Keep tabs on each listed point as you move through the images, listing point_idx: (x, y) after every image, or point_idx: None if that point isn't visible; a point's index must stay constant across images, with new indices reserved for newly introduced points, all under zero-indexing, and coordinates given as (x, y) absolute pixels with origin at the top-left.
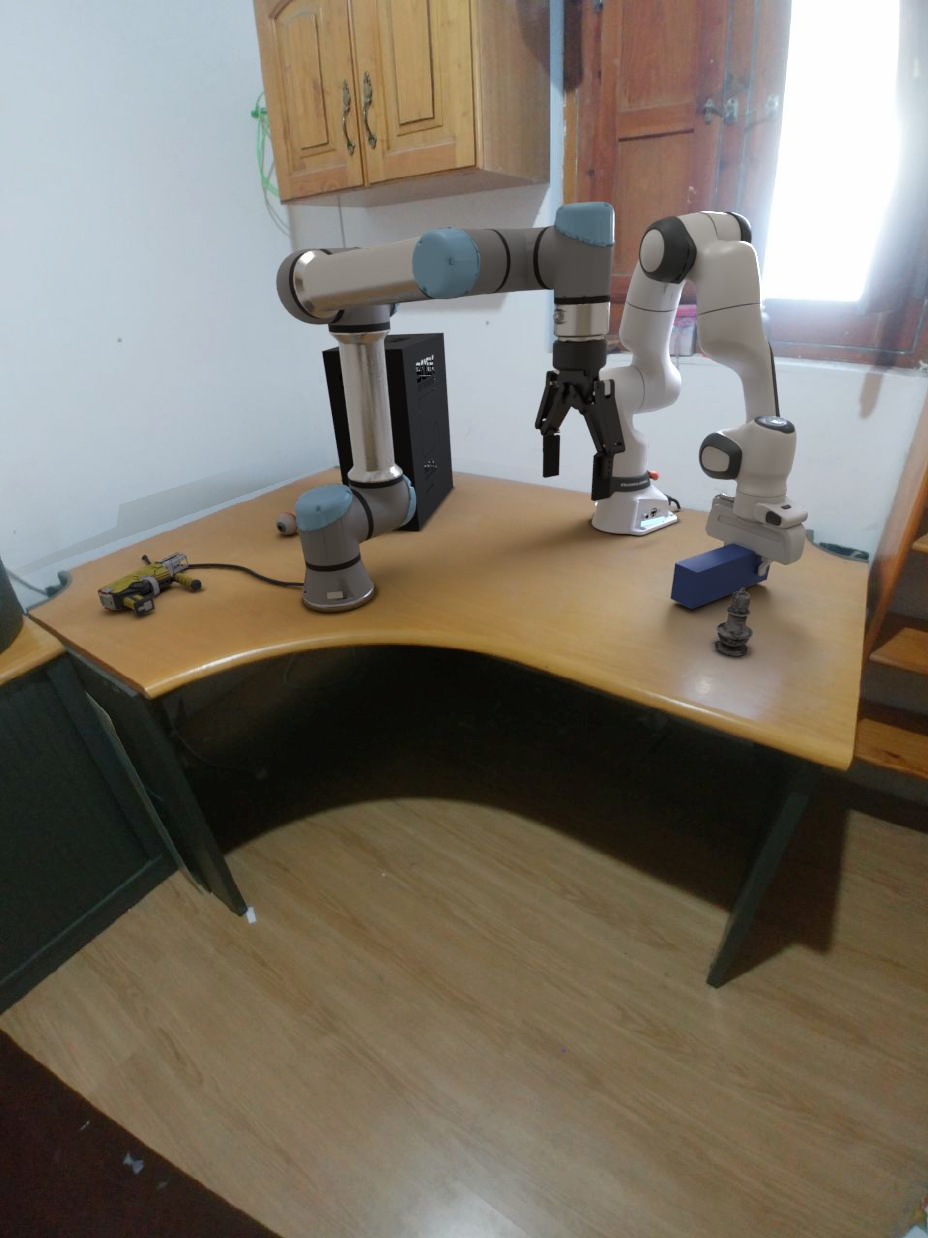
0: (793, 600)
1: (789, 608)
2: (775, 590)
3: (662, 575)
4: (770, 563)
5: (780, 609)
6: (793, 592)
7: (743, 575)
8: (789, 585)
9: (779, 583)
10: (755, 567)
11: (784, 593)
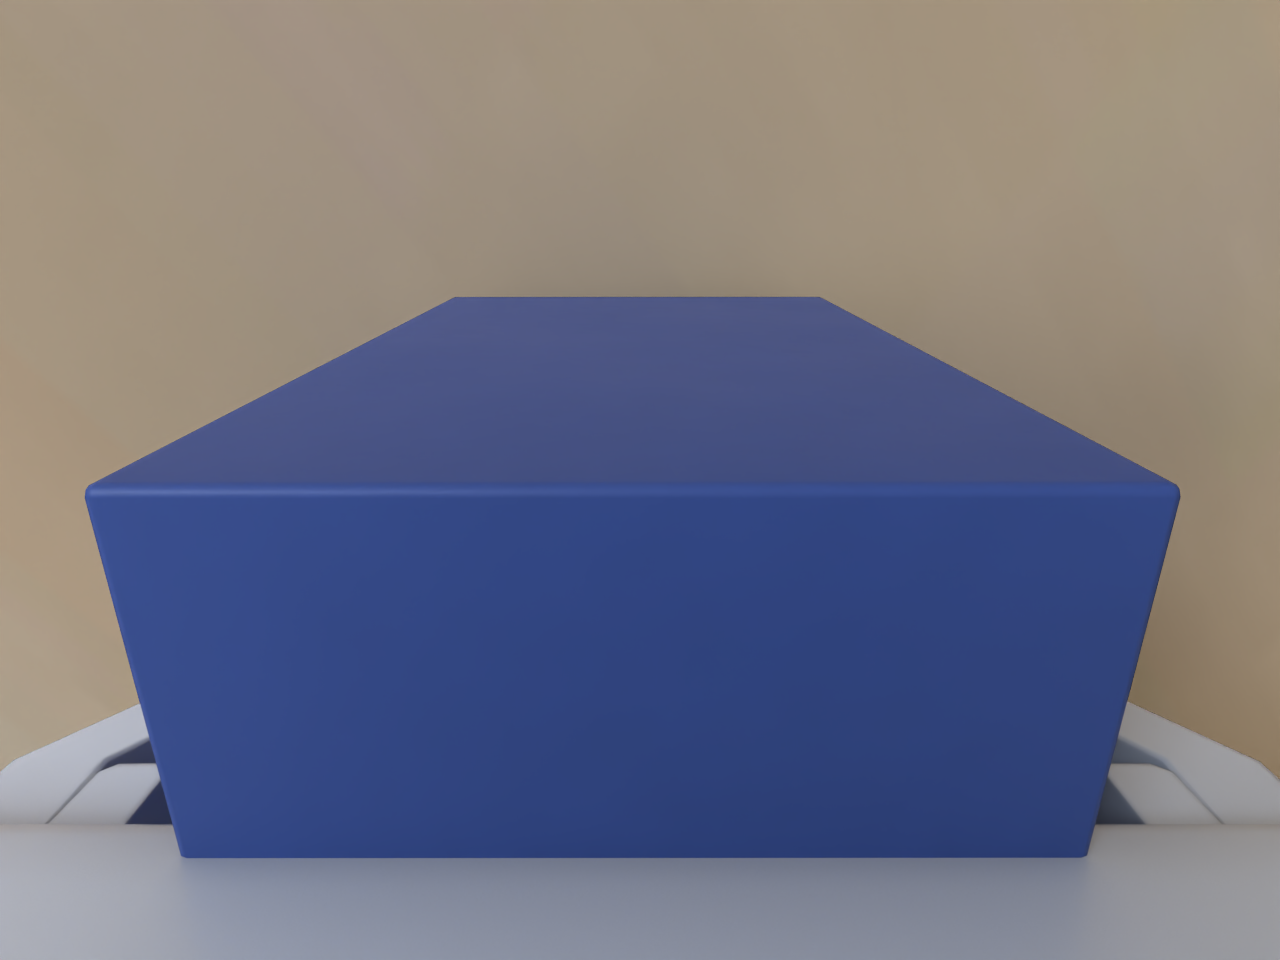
0: (1240, 373)
1: (1276, 560)
2: (968, 320)
3: None
4: (1137, 715)
5: (1212, 641)
6: (1156, 182)
7: None
8: (1025, 28)
9: (899, 91)
10: None
11: (1085, 302)
